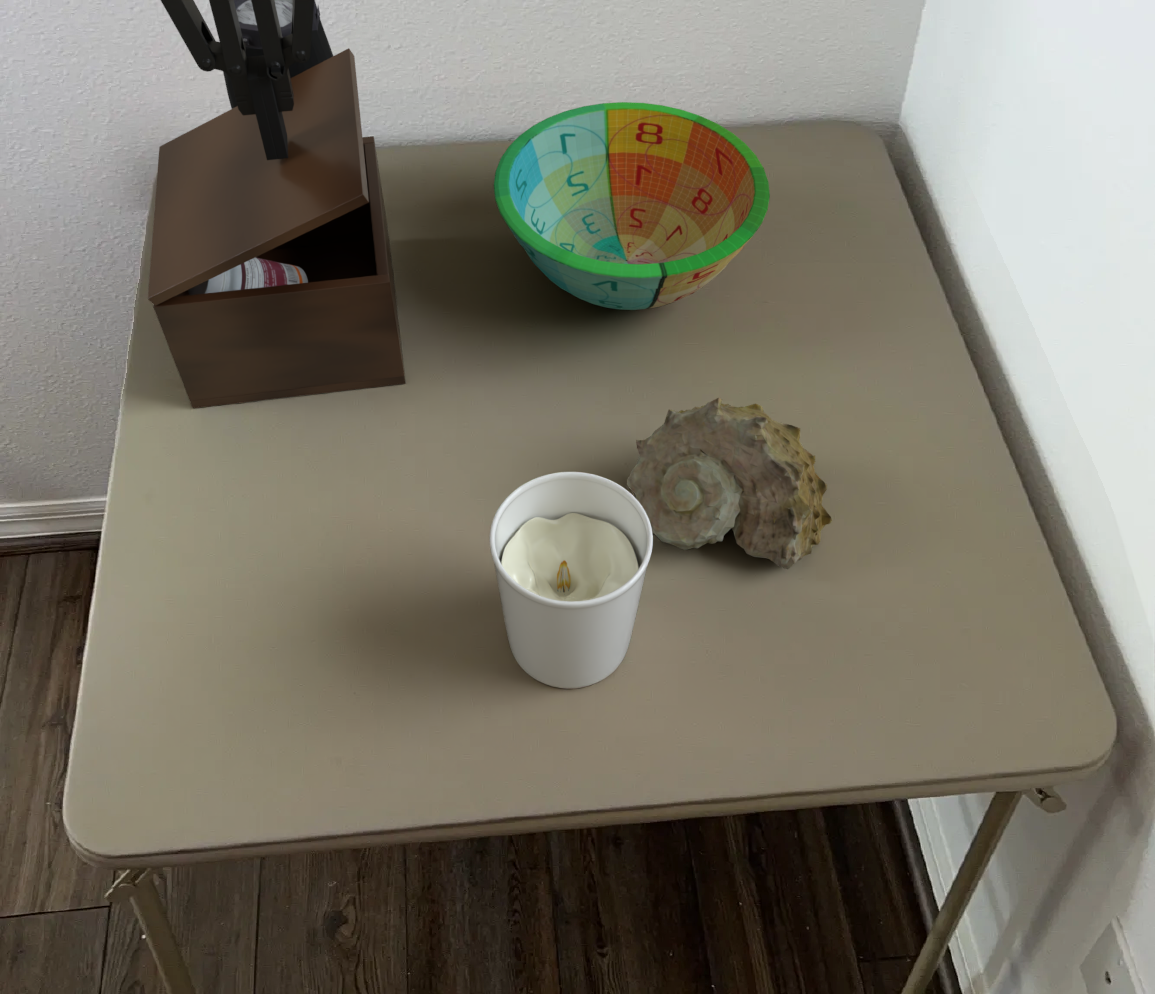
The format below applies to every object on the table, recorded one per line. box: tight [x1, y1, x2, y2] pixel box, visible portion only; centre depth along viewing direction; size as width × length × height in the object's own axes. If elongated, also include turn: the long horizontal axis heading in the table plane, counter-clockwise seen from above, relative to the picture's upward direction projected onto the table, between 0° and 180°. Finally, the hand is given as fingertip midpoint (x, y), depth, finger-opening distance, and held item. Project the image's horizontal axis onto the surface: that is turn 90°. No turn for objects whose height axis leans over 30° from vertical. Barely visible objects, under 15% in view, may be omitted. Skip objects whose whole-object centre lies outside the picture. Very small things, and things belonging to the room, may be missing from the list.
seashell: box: [626, 397, 833, 570], centre depth 80 cm, size 11×14×10 cm
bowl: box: [493, 101, 771, 311], centre depth 95 cm, size 22×22×10 cm
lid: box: [147, 47, 369, 306], centre depth 83 cm, size 18×18×1 cm
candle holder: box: [488, 471, 654, 689], centre depth 72 cm, size 10×10×12 cm
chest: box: [152, 135, 407, 409], centre depth 91 cm, size 17×18×11 cm
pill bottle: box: [188, 257, 308, 295], centre depth 90 cm, size 5×5×8 cm
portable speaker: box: [222, 0, 334, 109], centre depth 97 cm, size 9×9×20 cm
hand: (277, 147), depth 82 cm, fingers closed
